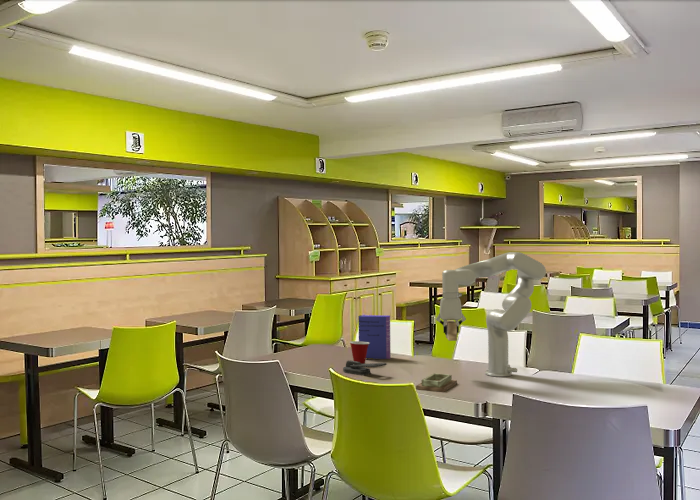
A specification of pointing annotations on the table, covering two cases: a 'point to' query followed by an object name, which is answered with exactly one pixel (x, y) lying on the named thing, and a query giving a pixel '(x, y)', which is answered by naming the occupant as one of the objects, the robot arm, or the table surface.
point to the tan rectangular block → (451, 330)
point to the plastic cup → (359, 351)
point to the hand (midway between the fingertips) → (451, 334)
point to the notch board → (437, 383)
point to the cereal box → (375, 335)
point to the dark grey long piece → (360, 367)
